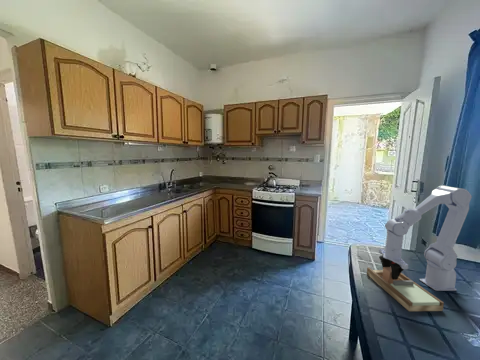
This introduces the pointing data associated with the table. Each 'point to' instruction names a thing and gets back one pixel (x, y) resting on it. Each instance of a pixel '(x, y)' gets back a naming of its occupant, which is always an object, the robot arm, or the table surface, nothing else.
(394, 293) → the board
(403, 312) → the table surface
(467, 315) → the table surface
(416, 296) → the lid
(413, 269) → the table surface
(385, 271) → the block
